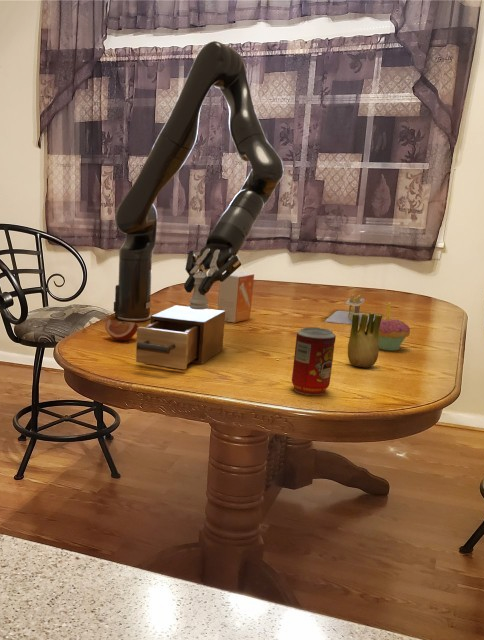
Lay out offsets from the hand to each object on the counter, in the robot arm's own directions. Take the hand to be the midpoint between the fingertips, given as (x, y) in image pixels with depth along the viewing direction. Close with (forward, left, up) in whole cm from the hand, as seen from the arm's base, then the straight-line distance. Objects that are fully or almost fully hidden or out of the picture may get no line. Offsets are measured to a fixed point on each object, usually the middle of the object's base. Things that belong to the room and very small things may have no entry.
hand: (194, 291), depth 152 cm
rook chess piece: (+1, +2, -4) cm, 5 cm away
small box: (-5, +47, -16) cm, 49 cm away
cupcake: (+37, +35, -16) cm, 53 cm away
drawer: (-3, -7, -15) cm, 17 cm away
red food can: (+28, -9, -16) cm, 34 cm away
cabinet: (-3, +5, -16) cm, 16 cm away
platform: (+24, +67, -16) cm, 73 cm away
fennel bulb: (+34, +15, -16) cm, 41 cm away
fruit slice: (-22, +9, -16) cm, 28 cm away
